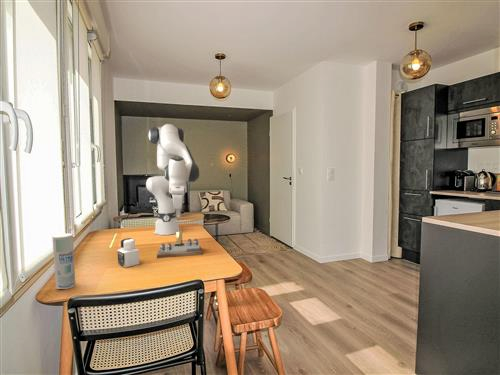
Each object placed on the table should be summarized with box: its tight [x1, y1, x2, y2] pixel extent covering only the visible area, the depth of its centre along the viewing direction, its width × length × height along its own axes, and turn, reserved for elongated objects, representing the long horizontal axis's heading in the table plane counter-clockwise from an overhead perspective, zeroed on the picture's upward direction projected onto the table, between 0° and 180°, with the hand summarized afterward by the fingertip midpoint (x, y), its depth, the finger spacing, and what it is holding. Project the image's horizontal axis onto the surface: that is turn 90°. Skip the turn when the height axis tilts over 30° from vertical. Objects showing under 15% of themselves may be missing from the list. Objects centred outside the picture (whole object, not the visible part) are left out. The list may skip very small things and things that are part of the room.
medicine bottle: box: [117, 237, 140, 269], centre depth 136 cm, size 7×7×12 cm
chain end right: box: [172, 238, 200, 252], centre depth 154 cm, size 7×14×5 cm, turn 103°
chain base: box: [156, 245, 203, 259], centre depth 153 cm, size 11×22×2 cm, turn 103°
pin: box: [175, 231, 184, 246], centre depth 153 cm, size 3×3×10 cm
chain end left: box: [158, 242, 187, 254], centre depth 152 cm, size 7×14×4 cm, turn 103°
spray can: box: [52, 232, 76, 290], centre depth 111 cm, size 6×6×20 cm
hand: (178, 215), depth 152 cm, fingers open, 8 cm apart
